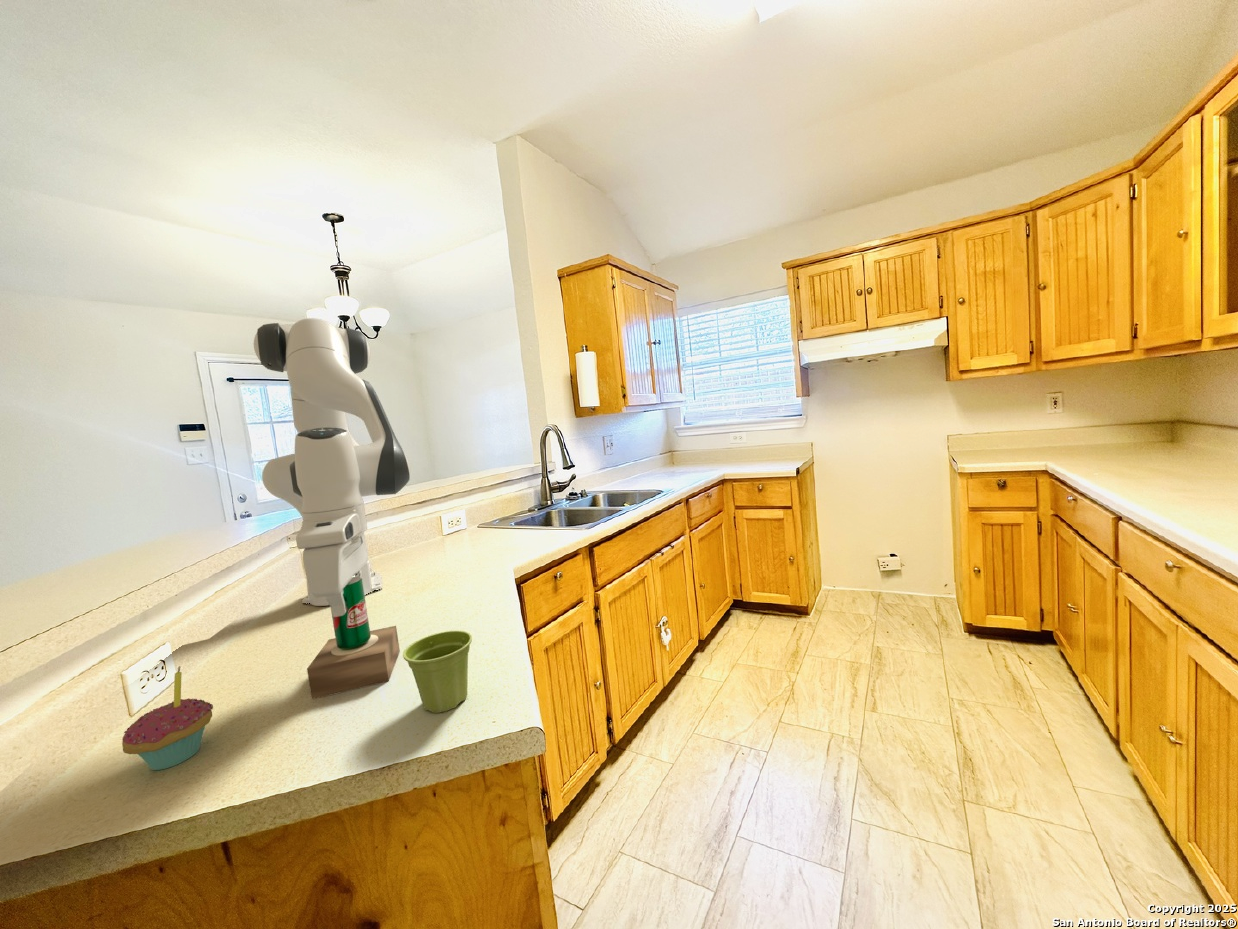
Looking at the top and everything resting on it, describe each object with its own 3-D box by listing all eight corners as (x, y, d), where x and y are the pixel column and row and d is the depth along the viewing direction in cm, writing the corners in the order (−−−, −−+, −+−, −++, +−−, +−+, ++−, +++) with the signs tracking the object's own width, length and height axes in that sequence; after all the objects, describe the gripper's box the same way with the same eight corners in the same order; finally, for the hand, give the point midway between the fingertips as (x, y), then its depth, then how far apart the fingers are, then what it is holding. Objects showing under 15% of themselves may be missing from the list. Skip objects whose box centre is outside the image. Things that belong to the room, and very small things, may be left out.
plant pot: (413, 694, 70) (405, 639, 69) (477, 676, 73) (470, 624, 72) (408, 729, 61) (399, 668, 60) (481, 708, 64) (473, 649, 63)
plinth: (333, 666, 81) (328, 638, 81) (399, 651, 85) (395, 624, 84) (311, 699, 71) (306, 667, 70) (388, 681, 74) (384, 650, 74)
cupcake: (226, 727, 66) (211, 648, 65) (206, 763, 58) (189, 674, 57) (145, 752, 62) (128, 668, 61) (113, 794, 54) (93, 699, 53)
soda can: (355, 652, 74) (344, 581, 73) (329, 651, 75) (318, 581, 74) (378, 637, 79) (368, 570, 78) (353, 637, 80) (343, 571, 79)
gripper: (333, 516, 85) (344, 588, 86) (290, 541, 65) (305, 632, 66) (371, 511, 86) (381, 581, 88) (340, 534, 67) (353, 623, 68)
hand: (348, 604), depth 77 cm, fingers open, 8 cm apart
